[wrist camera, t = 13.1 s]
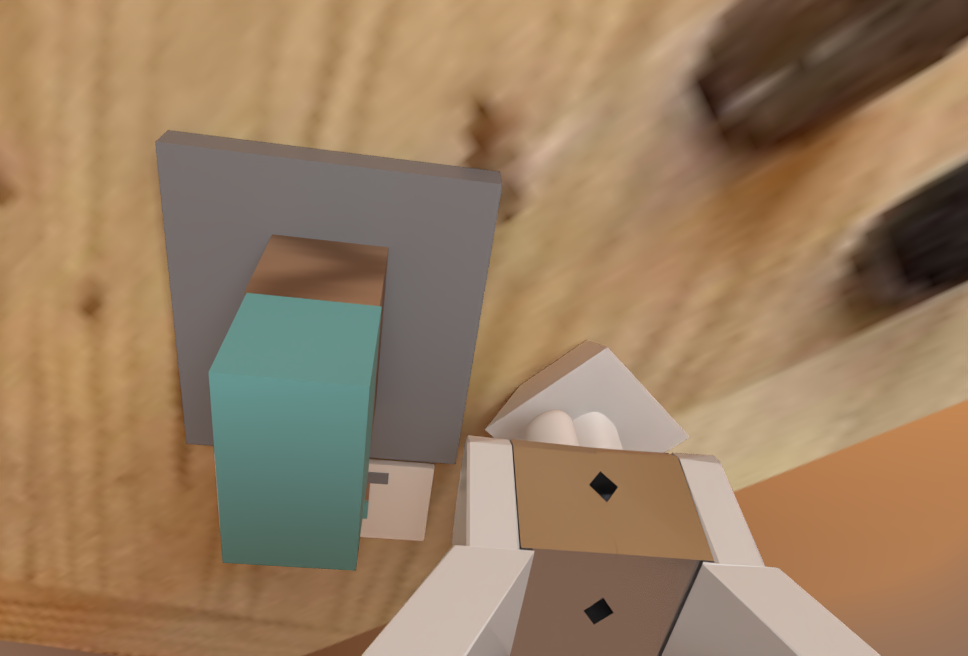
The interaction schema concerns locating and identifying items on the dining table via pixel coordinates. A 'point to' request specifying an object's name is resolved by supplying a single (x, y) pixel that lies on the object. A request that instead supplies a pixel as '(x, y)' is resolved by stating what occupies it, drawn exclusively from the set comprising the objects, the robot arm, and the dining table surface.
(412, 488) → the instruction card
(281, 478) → the teal block
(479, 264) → the baseplate
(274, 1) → the dining table surface
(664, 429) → the figurine
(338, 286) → the walnut block
